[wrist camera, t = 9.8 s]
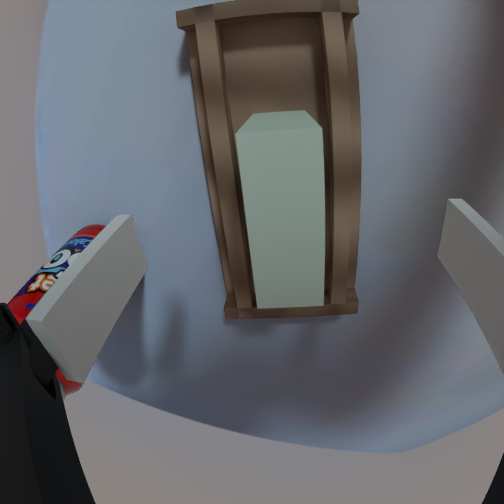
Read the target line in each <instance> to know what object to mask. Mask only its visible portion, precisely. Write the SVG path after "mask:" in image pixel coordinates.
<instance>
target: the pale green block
mask: <svg viewBox="0 0 504 504" xmlns="http://www.w3.org/2000/svg"><path fill="white" fill-rule="evenodd" d="M235 137H236V145H237V153H238V161H239V168H240V176H241V184H242V192H243V200H244V208H245V216H246V224H247V231H248V239H249V247H250V255H251V263H252V271H253V278H254V286H255V294H256V302H257V309H259V308H287V307H309V306H324V276H325V182H324V153H323V132H322V127H321V126H320V125H319V124H318V123H317V122H316V121H315V120H314V119H313V118H312V117H311V116H310V115H309V114H308V113H307V112H306V111H305V110H300V111H282V112H268V113H256V114H252V116H251V117H250V118H249V119H248V120H247V121H246V122H245V123H244V125H243V126H242V127H241V128H240V129H239V130H238V131H237V132H236V134H235Z"/></svg>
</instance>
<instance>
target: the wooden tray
mask: <svg viewBox="0 0 504 504" xmlns="http://www.w3.org/2000/svg"><path fill="white" fill-rule="evenodd" d="M358 14H359V7H358V0H235V1H228V2H222V3H216V4H210V5H204V6H199V7H194V8H190V9H185V10H181V11H176V19H177V28H179V29H181V30H184V31H186V33H187V41H188V50H189V57H190V65H191V73H192V80H193V88H194V95H195V102H196V109H197V116H198V123H199V130H200V136H201V143H202V149H203V156H204V162H205V168H206V175H207V181H208V187H209V193H210V199H211V205H212V211H213V217H214V223H215V228H216V234H217V240H218V245H219V251H220V256H221V262H222V267H223V273H224V278H225V283H226V289H227V298H226V302H225V306H224V311H225V315H226V319H246V318H283V317H306V316H325V315H341V314H356V313H357V311H358V304H359V302H358V298H357V295H356V291H355V278H356V267H357V255H358V240H359V223H360V200H361V118H360V96H359V79H358V66H357V55H356V45H355V36H354V27H353V18H354V17H355V16H357V15H358ZM300 110H305V111H306V112H307V113H308V114H309V115H310V116H311V117H312V118H313V119H314V120H315V121H316V122H317V123H318V124H319V125H320V126H321V127H322V132H323V153H324V182H325V276H324V306H309V307H287V308H259V309H257V302H256V294H255V286H254V278H253V271H252V263H251V255H250V247H249V239H248V231H247V224H246V216H245V208H244V200H243V192H242V184H241V176H240V168H239V161H238V153H237V145H236V137H235V134H236V132H237V131H238V130H239V129H240V128H241V127H242V126H243V125H244V123H245V122H246V121H247V120H248V119H249V118H250V117H251V116H252V114H256V113H268V112H282V111H300Z"/></svg>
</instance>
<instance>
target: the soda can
mask: <svg viewBox="0 0 504 504" xmlns="http://www.w3.org/2000/svg"><path fill="white" fill-rule="evenodd" d="M105 227H106V226H103V225H89V226H86V227H84V228H82V229H81V230H79V231H78V232H77V233H76V234H75V235H74V236H72V237H71V238H70V239H69V240H68V241H67V242H66V243H65V244H64V245H63V246H62V247H61V248H60V249H59V250H58V251H57V252H56V253H55V254H54V255H53V256H52V257H51V258H50V259H49V260H48V261H47V262H46V263H45V264H44V265H43V266H42V267H41V268H40V269H39V270H38V271H37V272H36V273H35V274H34V275H33V276H32V277H31V278H30V280H29V281H28V282H27V283H26V284H25V285H24V286H23V287H22V288H21V289H20V290H19V291H18V293H17V294H16V295H15V296H14V297H13V298H12V299H11V300H10V302H9V303H8V304H7V305H8V306H9V308H10V310H11V311H12V313H13V315H14V316H15V318H16V320H17V321H18V323H19V324H21V322H22V321H23V320H24V319H25V317H26V316H27V315H28V313H29V312H30V311H31V310H32V308H33V307H34V306H35V305H36V303H37V302H38V301H40V298H41V297H42V296H43V295H44V293H46V291H47V290H48V289H49V287H50V286H51V285H52V284H53V283H54V282H55V281H56V280H57V279H58V278H59V277H60V276H61V275H62V273H63V272H64V271H65V270H66V269H67V268H68V267H69V265H70V264H71V263H72V262H73V261H74V260H75V259H76V258H77V257H78V255H79V254H80V253H81V252H82V251H83V250H84V249H85V248H86V247H87V246H88V245H89V244H90V243H91V241H92V240H93V239H94V238H95V237H96V236H97V235H98V234H99V233H100V232H101V231H102V230H103V229H104V228H105ZM136 288H137V287H136ZM133 293H134V292H133ZM130 298H131V297H130ZM126 305H127V304H126ZM123 310H124V309H123ZM119 317H120V316H119ZM110 333H111V332H110ZM55 376H56V377H57V379H58V381H59V383H60V388H61V393H62V398H63V401H64V399H65V396H66V395H68V394H71V393H73V392H76V391H78V390H79V389H80V388H81V387H82V385H83V383H80V382H75V381H71V380H67V379H66V377H65V376H64V375H63V374H62V372H61V371H60V370H59V368H58V370H57V372H56V373H55Z"/></svg>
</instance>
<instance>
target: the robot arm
mask: <svg viewBox="0 0 504 504" xmlns="http://www.w3.org/2000/svg"><path fill="white" fill-rule="evenodd" d="M437 257H438V258H439V260H440V261H441V263H442V264H443V266H444V267H445V269H446V270H447V272H448V274H449V275H450V277H451V278H452V280H453V281H454V283H455V285H456V286H457V288H458V290H459V291H460V293H461V295H462V296H463V298H464V300H465V301H466V303H467V305H468V306H469V308H470V310H471V312H472V313H473V315H474V317H475V319H476V321H477V322H478V324H479V326H480V328H481V330H482V332H483V334H484V336H485V337H486V339H487V341H488V343H489V345H490V347H491V349H492V351H493V353H494V355H495V358H496V360H497V362H498V364H499V366H500V368H501V370H502V373H504V238H503V237H502V236H501V235H500V234H499V233H498V232H497V231H496V230H495V229H494V228H493V227H492V226H491V225H490V224H489V223H488V222H487V221H486V220H485V219H484V218H482V217H481V216H480V215H479V214H478V213H477V212H476V211H475V210H474V209H473V208H472V207H471V206H469V205H468V204H467V203H466V202H465V201H464V200H463V199H447V206H446V212H445V218H444V224H443V229H442V235H441V240H440V245H439V249H438V254H437ZM147 269H148V266H147V263H146V260H145V257H144V253H143V250H142V247H141V244H140V240H139V237H138V234H137V230H136V227H135V224H134V220H133V217H132V214H126V215H117V216H116V217H115V218H114V219H113V220H112V221H111V222H110V223H109V224H108V225H107V226H106V227H105V228H104V229H103V230H102V231H101V232H100V233H99V234H98V235H97V236H96V237H95V238H94V239H93V240H92V241H91V243H90V244H89V245H88V246H87V247H86V248H85V249H84V250H83V251H82V252H81V253H80V254H79V255H78V257H77V258H76V259H75V260H74V261H73V262H72V263H71V264H70V265H69V267H68V268H67V269H66V270H65V271H64V272H63V273H62V275H61V276H60V277H59V278H58V279H57V280H56V281H55V282H54V283H53V284H52V285H51V286H50V287H49V289H48V290H47V291H46V293H44V295H43V296H42V297H41V298H40V301H38V302H37V303H36V305H35V306H34V307H33V308H32V310H31V311H30V312H29V313H28V315H27V316H26V317H25V319H24V320H23V321H22V322H21V324H19V323H18V321H17V320H16V318H15V316H14V315H13V313H12V311H11V310H10V308H9V306H8V305H7V304H6V303H0V504H96V503H95V501H94V499H93V496H92V494H91V491H90V489H89V486H88V483H87V481H86V478H85V475H84V473H83V470H82V467H81V464H80V461H79V458H78V455H77V451H76V448H75V445H74V442H73V438H72V435H71V431H70V427H69V423H68V419H67V415H66V411H65V407H64V403H63V398H62V393H61V388H60V383H59V381H58V379H57V377H56V376H55V373H56V372H57V370H58V368H59V370H60V371H61V372H62V374H63V375H64V376H65V377H66V379H67V380H71V381H75V382H80V383H84V382H85V380H86V378H87V376H88V374H89V372H90V370H91V368H92V366H93V364H94V362H95V360H96V358H97V357H98V355H99V353H100V351H101V349H102V347H103V345H104V343H105V342H106V340H107V338H108V336H109V334H110V332H111V331H112V329H113V327H114V325H115V324H116V322H117V320H118V318H119V316H120V315H121V313H122V311H123V309H124V308H125V306H126V304H127V303H128V301H129V299H130V297H131V296H132V294H133V292H134V291H135V289H136V287H137V286H138V284H139V282H140V281H141V279H142V277H143V276H144V274H145V272H146V271H147ZM482 504H504V453H503V456H502V459H501V461H500V464H499V466H498V469H497V471H496V474H495V476H494V478H493V481H492V483H491V485H490V487H489V490H488V492H487V494H486V496H485V498H484V500H483V502H482Z"/></svg>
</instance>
